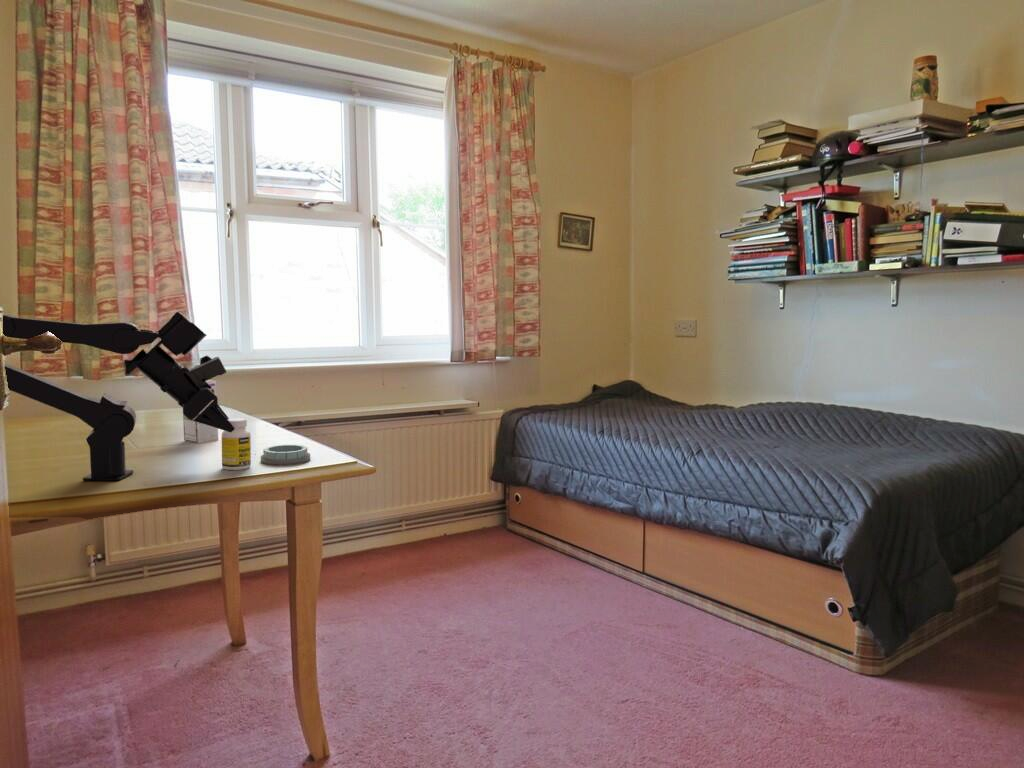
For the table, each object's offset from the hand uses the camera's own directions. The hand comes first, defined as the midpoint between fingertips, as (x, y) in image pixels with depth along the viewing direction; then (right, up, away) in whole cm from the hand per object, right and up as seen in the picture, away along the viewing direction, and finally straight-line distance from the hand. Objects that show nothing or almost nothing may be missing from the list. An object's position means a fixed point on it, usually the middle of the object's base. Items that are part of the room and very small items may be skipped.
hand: (231, 426), depth 142 cm
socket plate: (+8, -8, +9) cm, 14 cm away
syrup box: (-18, -5, +29) cm, 35 cm away
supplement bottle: (+1, -9, +1) cm, 9 cm away
